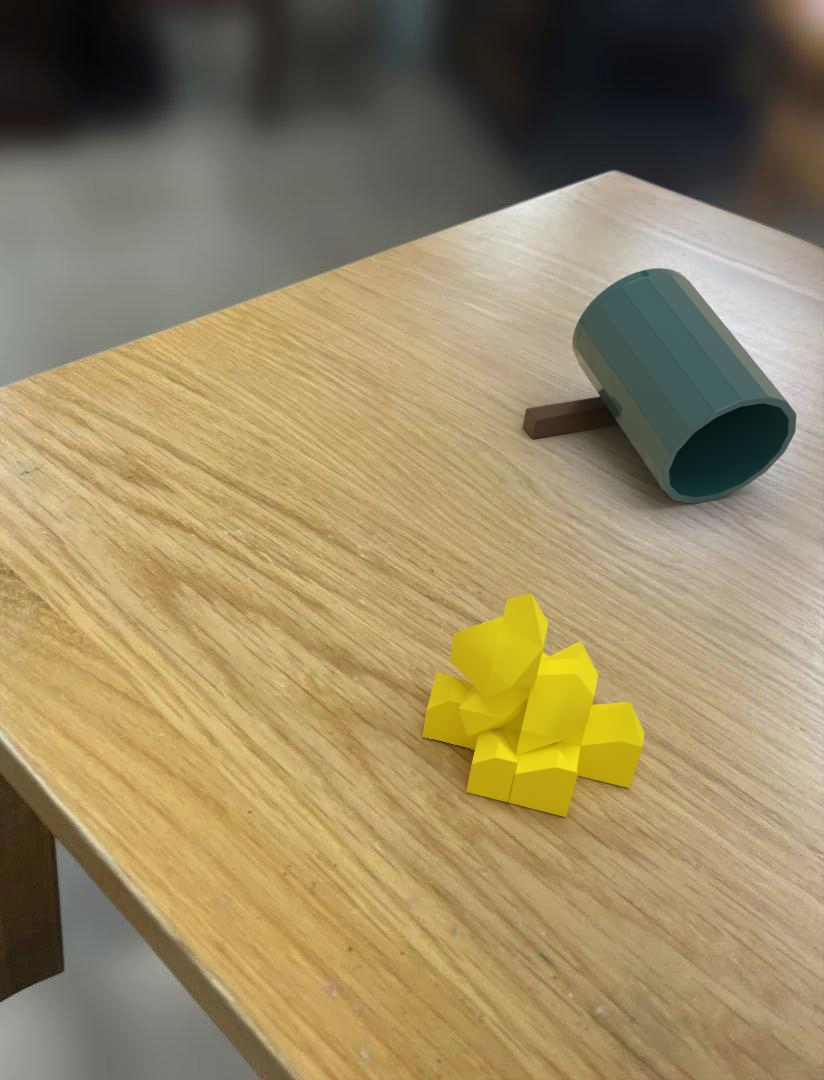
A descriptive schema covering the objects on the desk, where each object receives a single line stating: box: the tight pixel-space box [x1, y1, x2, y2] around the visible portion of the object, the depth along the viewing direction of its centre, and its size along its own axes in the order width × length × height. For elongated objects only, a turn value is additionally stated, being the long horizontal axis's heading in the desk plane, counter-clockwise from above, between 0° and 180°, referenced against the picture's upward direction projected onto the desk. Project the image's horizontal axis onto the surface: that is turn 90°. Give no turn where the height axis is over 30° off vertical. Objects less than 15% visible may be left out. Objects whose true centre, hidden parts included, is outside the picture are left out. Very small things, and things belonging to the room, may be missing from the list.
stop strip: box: [522, 396, 619, 440], centre depth 66 cm, size 12×1×1 cm, turn 108°
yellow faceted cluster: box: [422, 592, 645, 818], centre depth 45 cm, size 6×8×8 cm
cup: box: [571, 267, 797, 504], centre depth 61 cm, size 7×7×10 cm
